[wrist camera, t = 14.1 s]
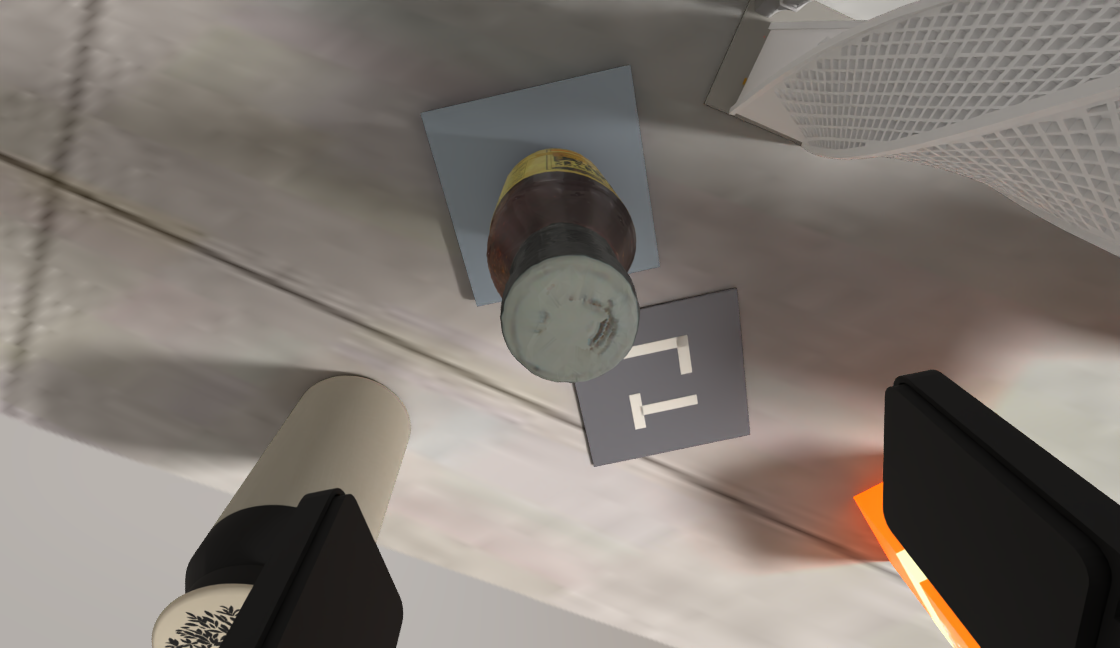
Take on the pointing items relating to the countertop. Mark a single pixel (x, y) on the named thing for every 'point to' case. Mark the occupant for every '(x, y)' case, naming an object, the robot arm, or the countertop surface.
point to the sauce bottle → (563, 267)
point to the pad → (527, 127)
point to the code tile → (671, 383)
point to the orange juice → (912, 570)
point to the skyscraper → (947, 94)
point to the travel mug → (290, 499)
